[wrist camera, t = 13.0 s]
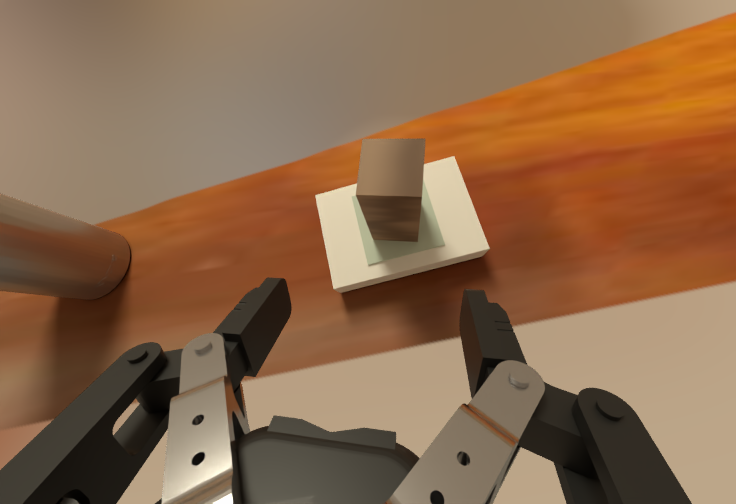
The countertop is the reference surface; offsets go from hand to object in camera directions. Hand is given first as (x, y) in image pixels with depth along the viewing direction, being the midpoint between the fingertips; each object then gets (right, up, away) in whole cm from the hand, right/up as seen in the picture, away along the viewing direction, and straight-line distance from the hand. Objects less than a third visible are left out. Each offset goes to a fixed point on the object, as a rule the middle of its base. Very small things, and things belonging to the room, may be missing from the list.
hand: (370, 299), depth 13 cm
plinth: (+3, +5, +20) cm, 21 cm away
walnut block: (+3, +5, +17) cm, 18 cm away
